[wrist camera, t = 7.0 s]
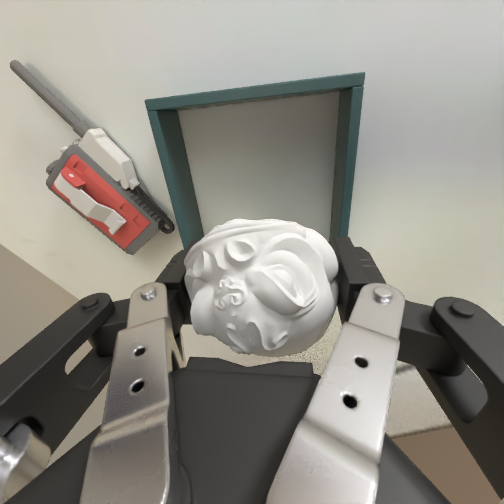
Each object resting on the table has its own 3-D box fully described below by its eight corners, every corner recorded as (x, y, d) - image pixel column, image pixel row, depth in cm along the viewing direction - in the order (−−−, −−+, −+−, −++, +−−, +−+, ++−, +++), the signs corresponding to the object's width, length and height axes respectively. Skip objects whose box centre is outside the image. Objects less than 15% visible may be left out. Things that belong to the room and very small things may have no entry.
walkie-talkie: (190, 213, 29) (30, 54, 22) (176, 229, 25) (-22, 43, 19) (148, 253, 32) (-1, 125, 26) (130, 272, 29) (-50, 128, 22)
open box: (167, 101, 23) (143, 99, 19) (350, 78, 21) (365, 71, 17) (203, 259, 32) (192, 280, 28) (335, 255, 29) (343, 278, 26)
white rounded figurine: (300, 155, 11) (317, 216, 5) (344, 274, 14) (388, 403, 8) (189, 207, 13) (106, 296, 7) (249, 302, 16) (226, 422, 10)
